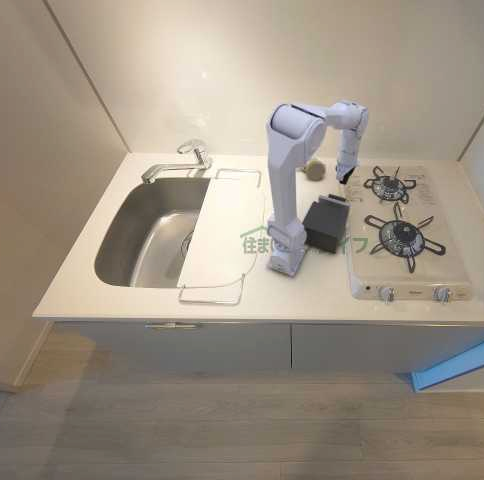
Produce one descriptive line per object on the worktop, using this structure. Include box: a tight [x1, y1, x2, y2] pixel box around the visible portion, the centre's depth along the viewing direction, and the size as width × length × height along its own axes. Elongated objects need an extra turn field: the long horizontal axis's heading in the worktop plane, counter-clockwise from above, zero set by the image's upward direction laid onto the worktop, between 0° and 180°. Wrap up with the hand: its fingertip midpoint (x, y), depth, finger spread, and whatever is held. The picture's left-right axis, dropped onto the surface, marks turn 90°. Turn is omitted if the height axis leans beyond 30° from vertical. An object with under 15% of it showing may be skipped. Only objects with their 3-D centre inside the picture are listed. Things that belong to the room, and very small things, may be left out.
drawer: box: [317, 193, 351, 213], centre depth 86 cm, size 13×10×7 cm
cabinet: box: [301, 200, 350, 255], centre depth 82 cm, size 11×12×9 cm
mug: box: [301, 157, 326, 181], centre depth 100 cm, size 8×10×10 cm
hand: (343, 182), depth 87 cm, fingers closed
